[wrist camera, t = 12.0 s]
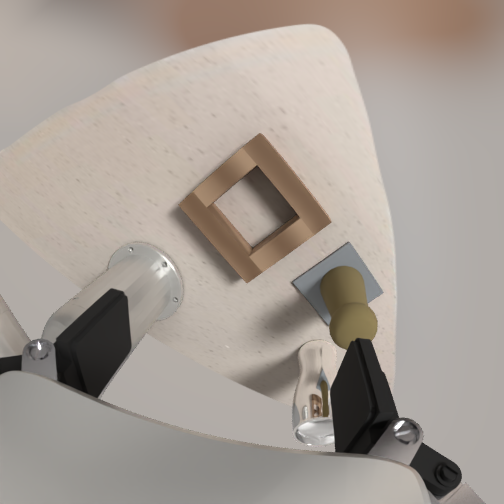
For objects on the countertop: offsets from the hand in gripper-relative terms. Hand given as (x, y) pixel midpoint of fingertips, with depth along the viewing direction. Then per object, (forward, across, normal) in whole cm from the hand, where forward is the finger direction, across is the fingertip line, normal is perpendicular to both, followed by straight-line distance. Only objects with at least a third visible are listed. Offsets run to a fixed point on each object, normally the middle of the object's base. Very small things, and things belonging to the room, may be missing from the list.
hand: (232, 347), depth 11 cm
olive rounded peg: (+26, -11, +8) cm, 29 cm away
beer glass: (+26, -11, +20) cm, 35 cm away
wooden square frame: (+26, +2, 0) cm, 26 cm away
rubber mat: (+26, -11, +8) cm, 29 cm away
